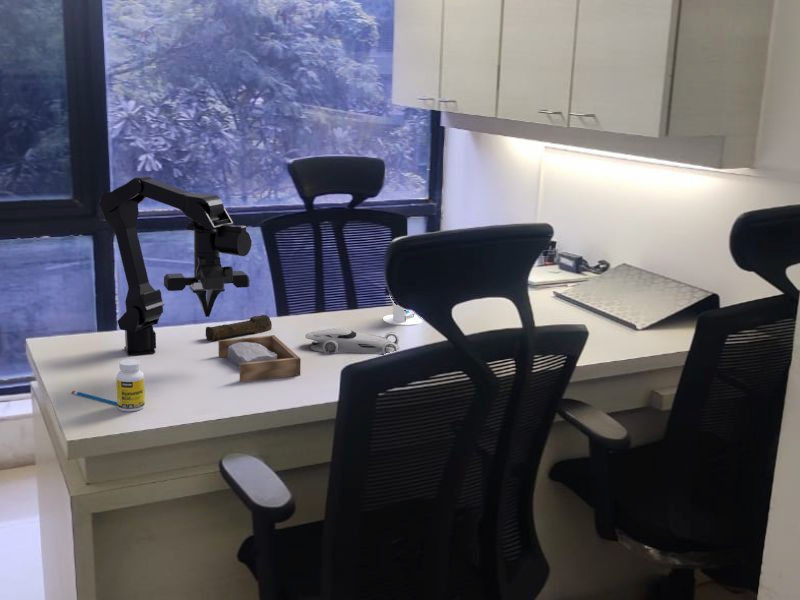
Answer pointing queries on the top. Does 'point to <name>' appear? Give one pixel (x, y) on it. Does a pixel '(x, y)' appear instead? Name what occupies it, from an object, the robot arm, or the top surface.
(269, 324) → the brown wooden log
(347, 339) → the car model
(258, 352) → the stone block
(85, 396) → the pencil
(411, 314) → the white upright piece
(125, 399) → the supplement bottle
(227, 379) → the top surface
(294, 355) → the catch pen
